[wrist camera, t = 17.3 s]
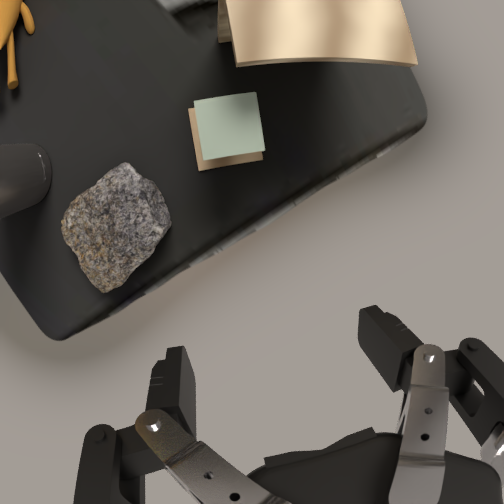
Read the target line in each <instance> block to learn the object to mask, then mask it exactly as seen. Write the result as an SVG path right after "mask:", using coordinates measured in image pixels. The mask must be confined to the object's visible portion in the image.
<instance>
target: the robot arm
mask: <svg viewBox="0 0 504 504" xmlns="http://www.w3.org/2000/svg"><path fill="white" fill-rule="evenodd" d="M51 176H52V170H51V163H50V160H49V157H48V155H47V153H46V152H45V151H44V149H43V148H41V147H40V146H39V145H36V144H31V143H27V144H7V145H0V219H2V218H4V217H6V216H9V215H11V214H13V213H16V212H18V211H21V210H23V209H26V208H28V207H31V206H33V205H36V204H38V203H39V202H40V201H41V200H42V199H43V198H44V197H45V195H46V194H47V192H48V190H49V187H50V183H51ZM358 341H359V344H360V347H361V348H362V350H363V351H364V352H365V354H366V355H367V357H368V358H369V359H370V361H371V362H372V364H373V365H374V366H375V368H376V369H377V370H378V372H379V373H380V375H381V376H382V377H383V379H384V380H385V382H386V383H387V384H388V386H389V387H390V389H391V390H392V391H393V392H396V391H398V390H400V389H402V390H403V391H404V394H403V398H402V404H401V408H400V413H399V419H398V423H397V427H396V431H395V433H387V432H383V433H375V432H374V430H373V428H372V427H370V428H367V429H364V430H362V431H359V432H356V433H353V434H350V435H348V436H346V437H344V438H343V439H341V440H339V441H337V442H335V443H334V444H332V445H330V446H328V447H327V448H325V449H322V450H313V451H294V452H288V453H284V454H280V455H275V456H270V457H265V458H264V460H265V465H263V466H261V467H259V468H257V469H255V470H253V471H252V472H251V473H249V474H248V475H247V476H245V475H244V474H243V473H241V472H240V471H239V470H237V469H236V468H235V467H233V466H232V465H231V464H230V463H228V462H227V461H226V460H225V459H223V458H222V457H221V456H220V455H218V454H217V453H216V452H215V451H213V450H212V449H211V448H210V447H209V446H208V445H206V444H205V443H204V442H202V441H199V442H197V441H196V391H195V390H196V388H195V387H196V386H195V385H196V383H195V376H194V372H193V369H192V366H191V363H190V360H189V358H188V355H187V352H186V349H185V347H184V346H178V347H172V348H167V352H166V359H165V360H158V361H157V363H156V364H155V366H154V367H153V368H152V373H151V379H150V386H149V390H148V396H147V403H146V409H145V412H143V413H142V414H140V415H139V417H138V418H137V420H136V422H135V424H134V425H132V426H129V427H126V428H123V429H120V430H117V431H115V430H114V428H112V427H111V426H110V425H106V424H99V425H96V426H94V427H92V428H91V429H90V430H89V431H88V432H87V433H86V435H85V438H84V443H83V447H82V453H81V458H80V464H79V469H78V475H77V481H76V489H75V495H74V503H73V504H145V474H148V473H152V472H155V471H158V470H161V469H164V468H165V470H166V471H167V472H169V474H170V475H171V476H172V477H173V478H174V479H175V480H176V481H177V482H178V483H179V484H180V485H181V486H182V487H183V488H184V489H185V490H186V491H187V492H188V493H189V494H190V495H191V496H192V497H193V498H194V499H195V500H196V501H197V502H198V503H199V504H503V499H502V487H504V362H503V361H502V360H501V359H500V358H499V357H498V356H497V355H496V354H495V353H494V352H493V351H492V350H490V349H489V347H487V346H486V345H485V344H484V343H483V342H482V341H481V340H479V339H476V338H466V339H464V340H462V341H461V342H460V345H459V348H458V349H457V350H450V351H443V350H442V349H441V348H440V347H438V346H436V345H432V344H424V343H422V341H421V340H420V339H419V338H418V337H417V336H416V335H415V334H414V333H413V332H412V331H411V330H410V329H408V328H407V326H405V324H403V323H402V321H401V320H400V319H399V318H397V317H396V316H394V315H392V314H390V313H388V312H386V313H384V312H383V311H382V310H381V309H380V308H379V307H378V306H377V305H373V306H369V307H366V308H363V309H360V311H359V325H358ZM475 380H476V382H477V383H478V384H479V385H480V386H481V388H482V389H483V391H484V395H483V394H482V393H481V392H480V391H479V389H478V388H477V387H476V386H475V385H474V381H475ZM449 401H450V403H451V404H452V405H453V407H454V408H455V409H456V411H457V412H458V414H459V415H460V417H461V418H462V419H463V421H464V422H465V424H466V425H467V427H468V428H469V429H470V431H471V432H472V434H473V435H474V437H475V438H476V440H477V441H478V442H479V444H480V446H481V447H482V448H481V458H482V459H481V461H480V460H476V459H472V458H469V457H466V456H462V455H459V454H456V453H452V452H449V451H446V450H445V443H446V434H447V421H448V405H449Z"/></svg>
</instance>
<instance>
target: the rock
mask: <svg viewBox="0 0 504 504" xmlns="http://www.w3.org/2000/svg"><path fill="white" fill-rule="evenodd" d="M164 201H165V200H164V198H163V196H162V194H161V192H160V191H159V189H158V188H157V187H156V185H155V183H154V181H151V180H149V179H146V178H144V177H142V176H141V175H140V174H139V173H137V171H136V169H134V168H133V167H132V166H131V165H130V164H129V163H128V164H127V163H126V162H124V163H122V164H120V165H119V166H118V167H115V168H114V169H113V170H110V171H109V172H107V173H106V174H105V175H104V176H103V177H102V178H101V179H100V180H98V181H97V184H96V185H95V186H93V187H91V188H90V189H88V190H86V191H84V192H82V193H81V194H80V195H78V196H77V197H76V199H75V200H74V201H72V202H71V203H70V207H69V208H68V209H67V210H66V212H65V213H64V217H63V220H62V221H61V224H62V227H61V232H62V234H63V238H64V240H65V242H66V244H67V245H69V246H70V247H71V249H72V251H73V252H74V253H75V254H76V255H77V257H78V261H79V262H80V263H79V265H80V267H81V269H82V270H83V271H84V273H85V274H86V276H87V277H88V278H89V280H90V281H91V282H92V284H93V285H94V286H95V287H97V288H98V289H99V290H100V291H101V292H103V293H107V292H109V291H111V290H113V289H114V288H117V287H119V286H121V285H122V284H123V283H124V282H125V281H126V280H127V278H128V277H129V276H130V274H131V273H132V272H133V271H134V270H135V268H137V267H138V266H139V265H141V264H143V262H144V261H146V259H148V258H149V257H150V256H151V255H152V254H153V253H154V250H155V248H156V246H157V244H158V243H159V241H160V240H161V239H162V238H163V236H164V235H165V234H166V233H167V230H168V229H169V228H170V227H171V223H172V222H171V221H170V213H169V212H168V208H167V206H166V204H164Z"/></svg>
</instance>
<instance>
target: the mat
mask: <svg viewBox="0 0 504 504" xmlns="http://www.w3.org/2000/svg"><path fill="white" fill-rule="evenodd" d="M188 111H189V117H190V123H191V129H192V135H193V141H194V146H195V152H196V158H197V163H198V169H199V171H201V170H207V169H212V168H217V167H223V166H228V165H234V164H240V163H246V162H252V161H259V160H263V157H262V151H259V152H252V153H245V154H239V155H233V156H226V157H221V158H215V159H209V160H204V161H203V156H202V150H201V144H200V138H199V131H198V125H197V119H196V113H195V108H191V109H188Z"/></svg>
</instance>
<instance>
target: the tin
mask: <svg viewBox="0 0 504 504" xmlns="http://www.w3.org/2000/svg"><path fill="white" fill-rule="evenodd" d="M194 106H195V113H196V119H197V125H198V131H199V138H200V144H201V150H202V156H203V161H204V160H209V159H215V158H221V157H226V156H233V155H239V154H245V153H252V152H259V151H265V146H264V139H263V133H262V126H261V120H260V113H259V107H258V101H257V95H256V92H250V93H242V94H235V95H228V96H221V97H215V98H209V99H203V100H198V101H194Z"/></svg>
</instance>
